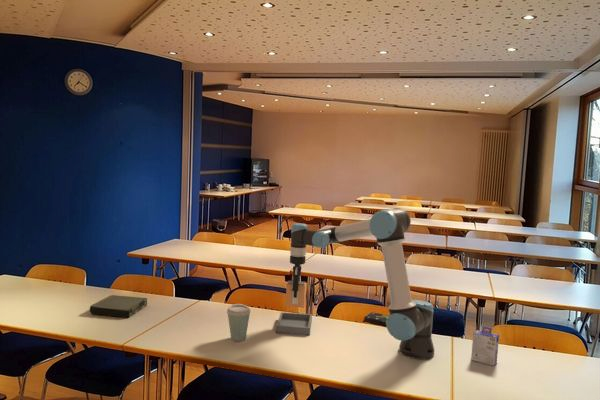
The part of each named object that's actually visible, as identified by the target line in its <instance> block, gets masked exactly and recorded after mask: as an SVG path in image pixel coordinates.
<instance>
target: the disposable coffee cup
mask: <svg viewBox="0 0 600 400" xmlns="http://www.w3.org/2000/svg"><path fill="white" fill-rule="evenodd" d="M226 313H227V319H228V325H229V333H230V338H231V340H232V341H233V342H243V341H245V340H246V338H247V332H248V328H249V327H248V326H249V321H250V314H251V308H250V307H249V306H248V305H245V304H242V303H235V304H231V305H228V308H227V311H226Z"/></svg>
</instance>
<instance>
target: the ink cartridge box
mask: <svg viewBox="0 0 600 400" xmlns="http://www.w3.org/2000/svg"><path fill="white" fill-rule="evenodd" d="M481 329H482V330H477V329H476V330H475V331H474V332H473V334H472V344H471V354H470V355H471V356H470V360H471V361H474V362H478V363H482V364H486V365H489V366H495V365H496V364H497V362H498V353H499V341H500V340H499V339H500V334H499V333H498V334H497V333H492V330H493V328H492V327H487V326H482V328H481ZM488 330H489V331H488Z"/></svg>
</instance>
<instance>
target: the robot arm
mask: <svg viewBox="0 0 600 400" xmlns="http://www.w3.org/2000/svg"><path fill="white" fill-rule="evenodd" d="M410 227H411V217H410V214H409V213H408V212H407V211H406V210H405V209H402V208H400V207H397V208H389V209H387V208H386V209H381V210H378V211H376V212H374V213H373V214H372V217H370V218H369V219H368V218H367V219H365V220H364V219H363V220H361V221H357V222H356V221H355V222H351V223H348V224H343V225H342V224H341V225H338V226H334V227H329V228H322V229H318V230H315V229H310V228H309V229H308V225H307V224H306V223H301V222H299V223H298V222H296V223H293V224H292V225H291V231H290V247H289V251H290V252H289V253H290V256H289V263H290V264H292V265H293V267H292V277H293V278H292V279H293V280H292V281H293V289H291V291H293V295H292V304H298V284H299V281H301V273H302V265H304V264H306V255H307V246H309V247H314V248H321V249H324V248H326V247H327V246H328V245H330V244H337V243H340V242H345V241H349V240H350V241H351V240H355V239H356V240H357V239H360V238H361V239H362V238H365V237H369V236H374V237H375V238H376V243H377V245H379V246H380V247H381V252H382V257H383V263H384V269H385V276H386V281H387V286H388V291H389V297H390V305H389V306H388V314H389V315H388V316H389V317H388V319H387V322H386V326H385V327H386V329H387V331H388V334H390V336H392V337H393V338H394V339H395V340H398V341H400V343H399V347H398V351H399V353H401V354H402V356H405V357H409V358H411V359H416V360H428V359H431V358H434V356H435V347H434V343H433V339H432V335H433V334H432V333H433V332H432V331H433V323H434V322H433V321H434V320H433V319H434V305H433V304H432V303H430V302H428V301H425V300H421V299H412V294H411V289H410V281H409V278H408V273H407V271H408V270H407V266H406V259H405V254H404V249H403V243H404V241H405V239H406V238H405V233H406V232H407V231H408V230H409V229H410Z"/></svg>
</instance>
